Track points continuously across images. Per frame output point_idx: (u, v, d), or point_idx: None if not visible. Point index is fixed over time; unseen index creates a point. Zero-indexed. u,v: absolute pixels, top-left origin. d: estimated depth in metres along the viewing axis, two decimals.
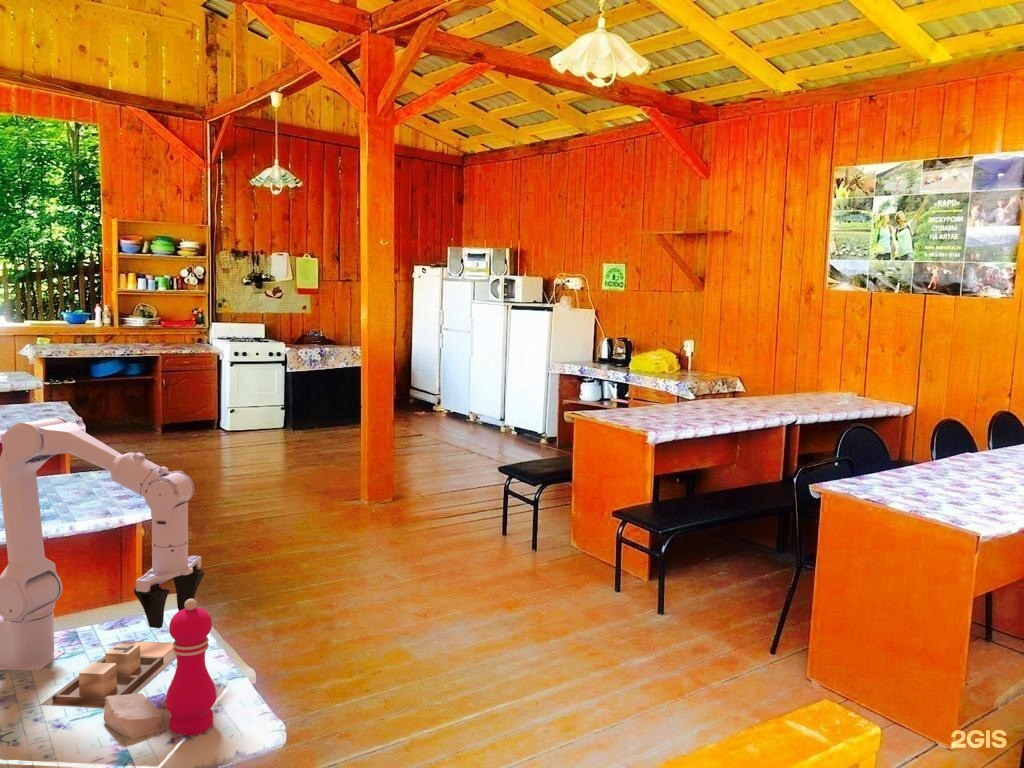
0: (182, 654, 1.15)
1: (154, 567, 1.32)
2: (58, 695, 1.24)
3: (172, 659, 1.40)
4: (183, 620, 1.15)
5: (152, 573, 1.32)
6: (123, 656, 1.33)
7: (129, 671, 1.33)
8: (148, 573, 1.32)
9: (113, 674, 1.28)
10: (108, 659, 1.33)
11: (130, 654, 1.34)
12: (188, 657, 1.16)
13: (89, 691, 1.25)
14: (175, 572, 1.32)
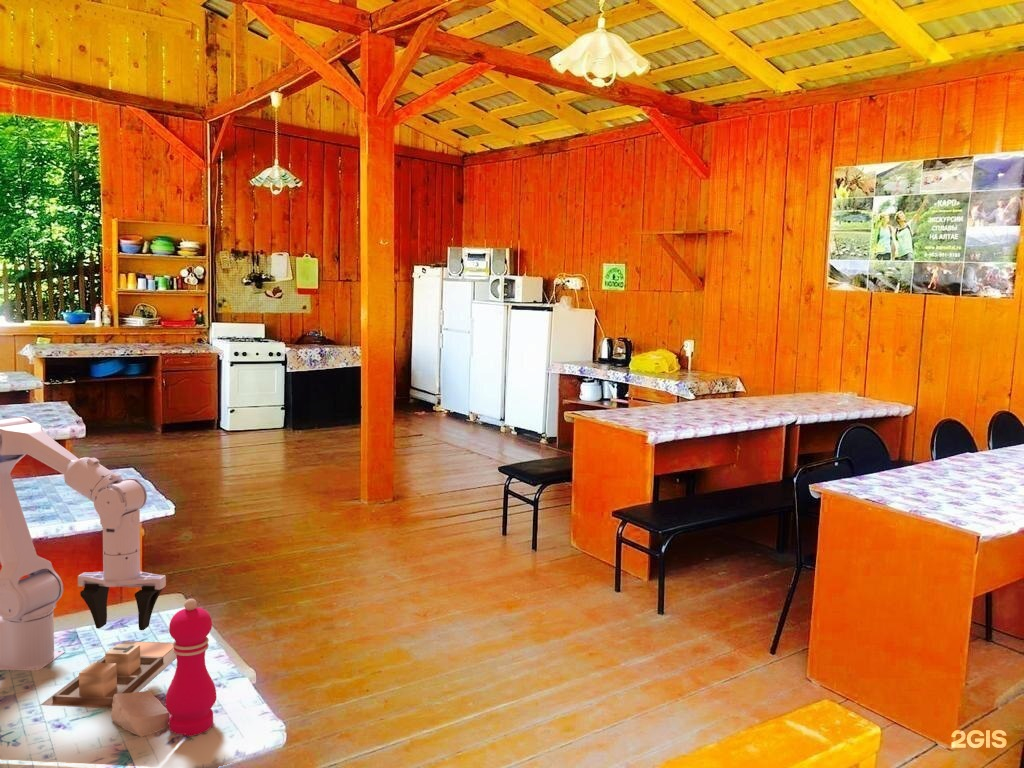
0: (182, 654, 1.15)
1: None
2: (58, 695, 1.24)
3: (172, 659, 1.40)
4: (183, 620, 1.15)
5: None
6: (123, 656, 1.33)
7: (129, 671, 1.33)
8: None
9: (113, 674, 1.28)
10: (108, 659, 1.33)
11: (130, 654, 1.34)
12: (188, 657, 1.16)
13: (89, 691, 1.25)
14: (103, 580, 1.31)
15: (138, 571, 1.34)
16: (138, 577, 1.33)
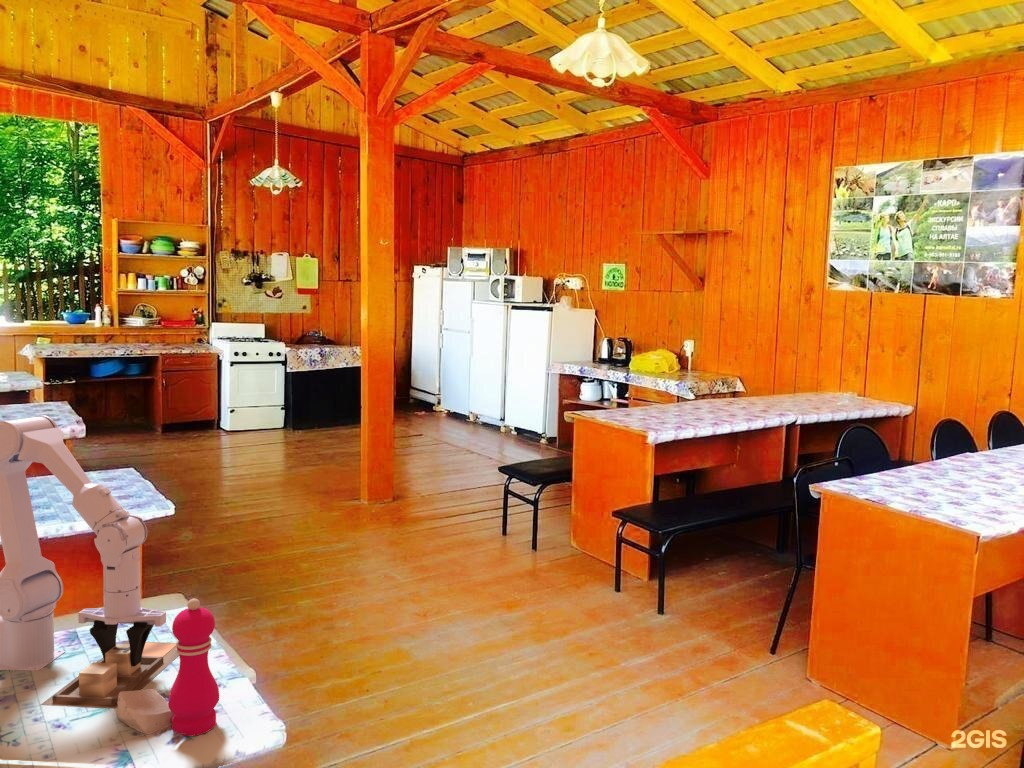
0: (185, 654, 1.15)
1: None
2: (58, 695, 1.24)
3: (172, 659, 1.40)
4: (186, 620, 1.15)
5: None
6: (123, 656, 1.33)
7: (129, 671, 1.33)
8: None
9: (113, 674, 1.28)
10: (108, 659, 1.33)
11: None
12: (191, 657, 1.16)
13: (89, 691, 1.25)
14: (104, 617, 1.32)
15: (138, 608, 1.34)
16: (138, 614, 1.34)
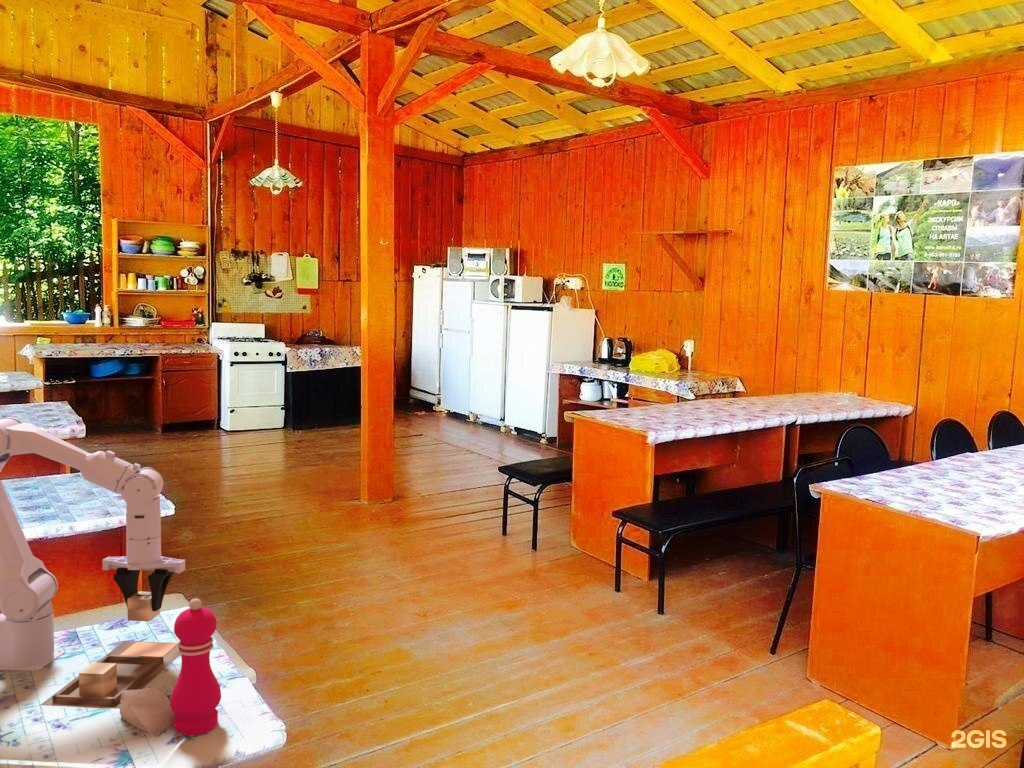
0: (186, 654, 1.15)
1: None
2: (58, 695, 1.24)
3: (172, 659, 1.40)
4: (188, 620, 1.15)
5: None
6: (144, 602, 1.40)
7: (150, 616, 1.40)
8: None
9: (113, 674, 1.28)
10: (130, 604, 1.40)
11: None
12: (192, 657, 1.16)
13: (89, 691, 1.25)
14: (126, 563, 1.39)
15: (159, 555, 1.41)
16: (159, 561, 1.41)
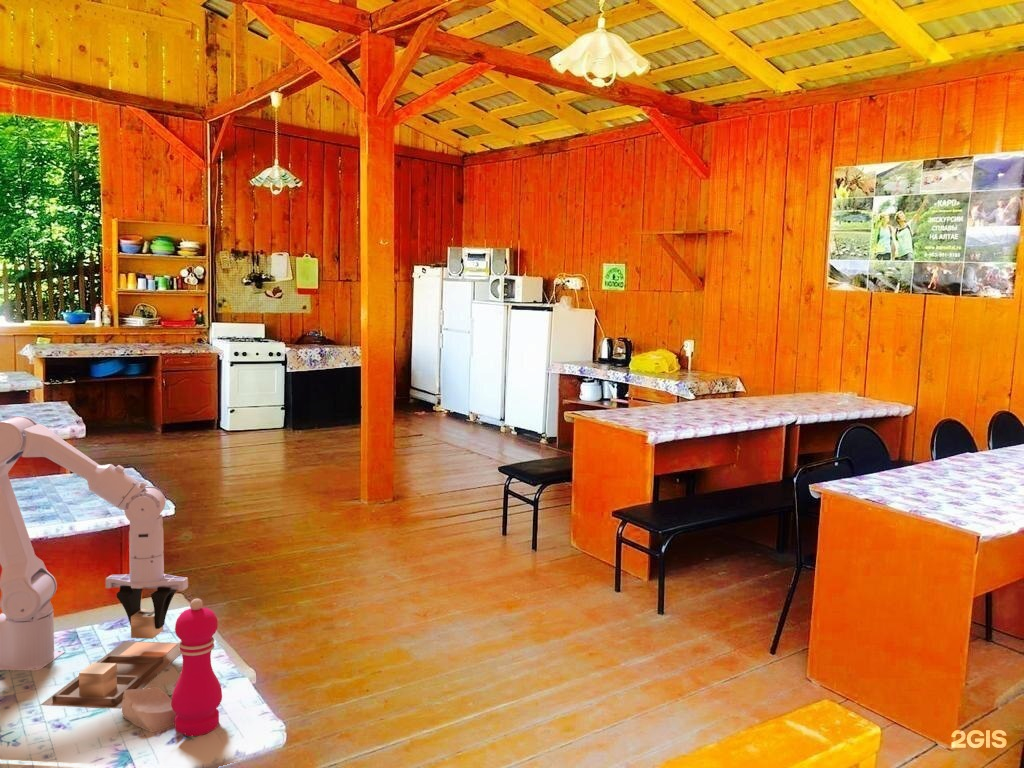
0: (188, 654, 1.15)
1: None
2: (58, 695, 1.24)
3: (172, 659, 1.40)
4: (189, 620, 1.15)
5: None
6: (147, 619, 1.41)
7: (153, 634, 1.41)
8: None
9: (113, 674, 1.28)
10: (133, 622, 1.41)
11: (154, 617, 1.42)
12: (194, 657, 1.16)
13: (89, 691, 1.25)
14: (130, 582, 1.40)
15: (162, 573, 1.43)
16: (162, 579, 1.42)
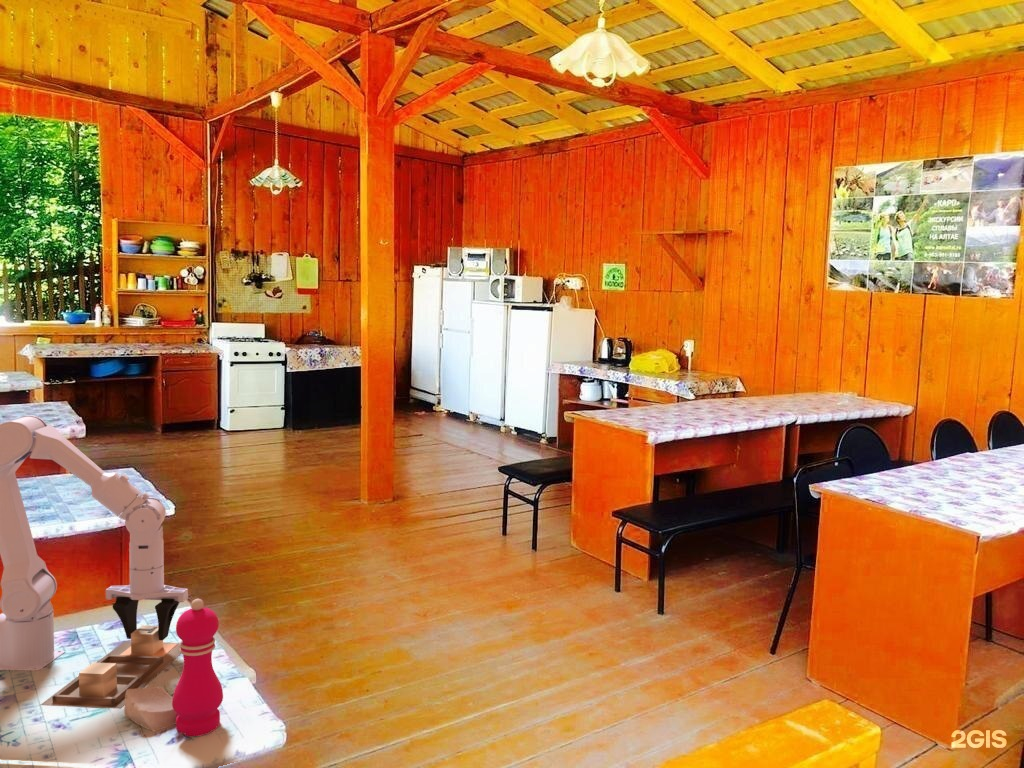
0: (188, 654, 1.15)
1: None
2: (58, 695, 1.24)
3: (172, 659, 1.40)
4: (190, 620, 1.15)
5: None
6: (147, 636, 1.41)
7: (153, 651, 1.42)
8: None
9: (113, 674, 1.28)
10: (133, 639, 1.41)
11: (154, 634, 1.42)
12: (194, 657, 1.16)
13: (89, 691, 1.25)
14: (130, 593, 1.40)
15: (162, 585, 1.43)
16: (162, 590, 1.42)
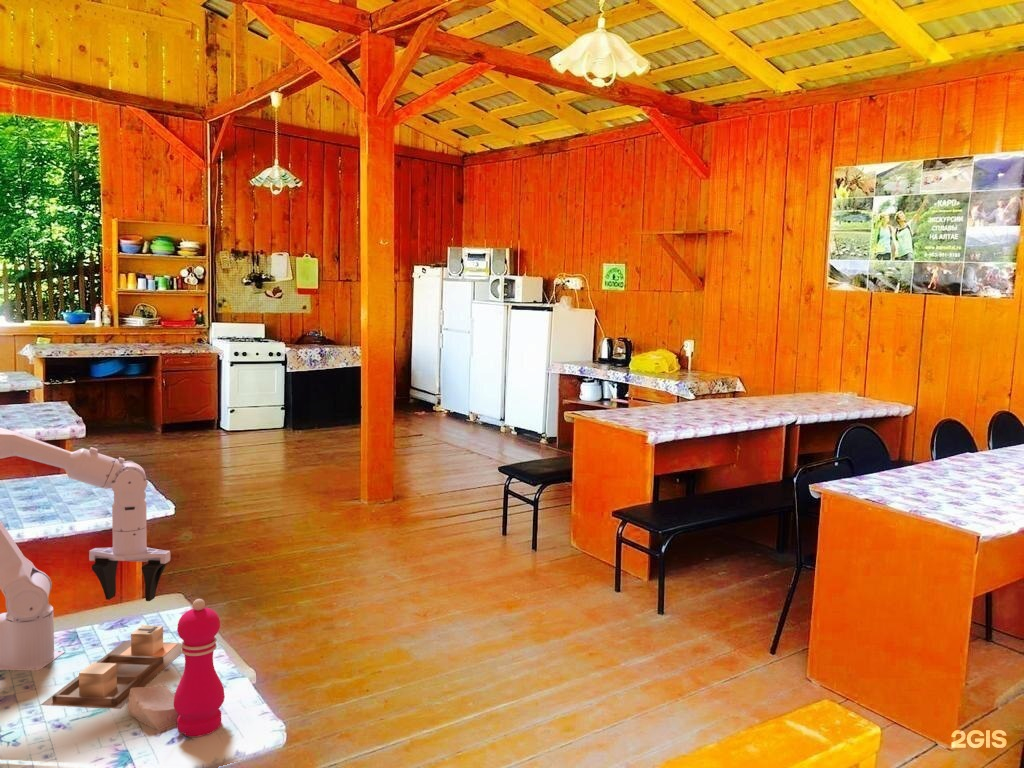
0: (190, 654, 1.15)
1: None
2: (58, 695, 1.24)
3: (172, 659, 1.40)
4: (191, 621, 1.15)
5: None
6: (147, 636, 1.41)
7: (153, 651, 1.42)
8: None
9: (113, 674, 1.28)
10: (133, 639, 1.41)
11: (154, 634, 1.42)
12: (196, 657, 1.16)
13: (89, 691, 1.25)
14: (113, 554, 1.42)
15: (145, 547, 1.45)
16: (145, 552, 1.44)
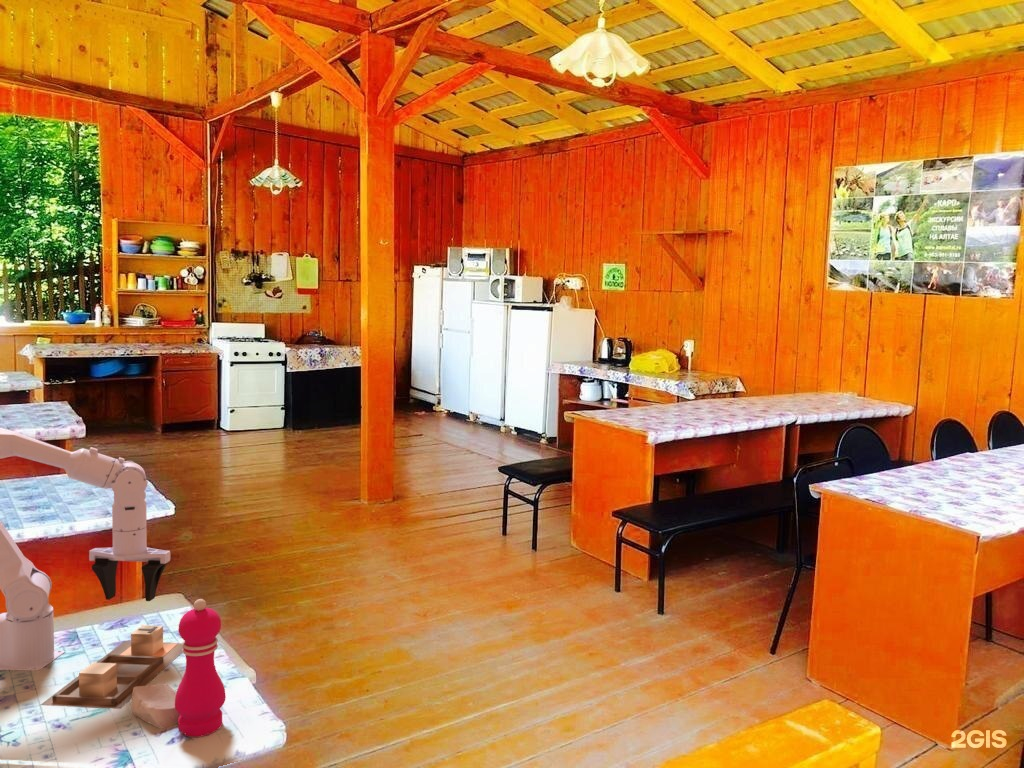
0: (191, 654, 1.15)
1: None
2: (58, 695, 1.24)
3: (172, 659, 1.40)
4: (192, 621, 1.15)
5: None
6: (147, 636, 1.41)
7: (153, 651, 1.42)
8: None
9: (113, 674, 1.28)
10: (133, 639, 1.41)
11: (154, 634, 1.42)
12: (197, 657, 1.15)
13: (89, 691, 1.25)
14: (113, 554, 1.42)
15: (145, 547, 1.45)
16: (145, 552, 1.44)
